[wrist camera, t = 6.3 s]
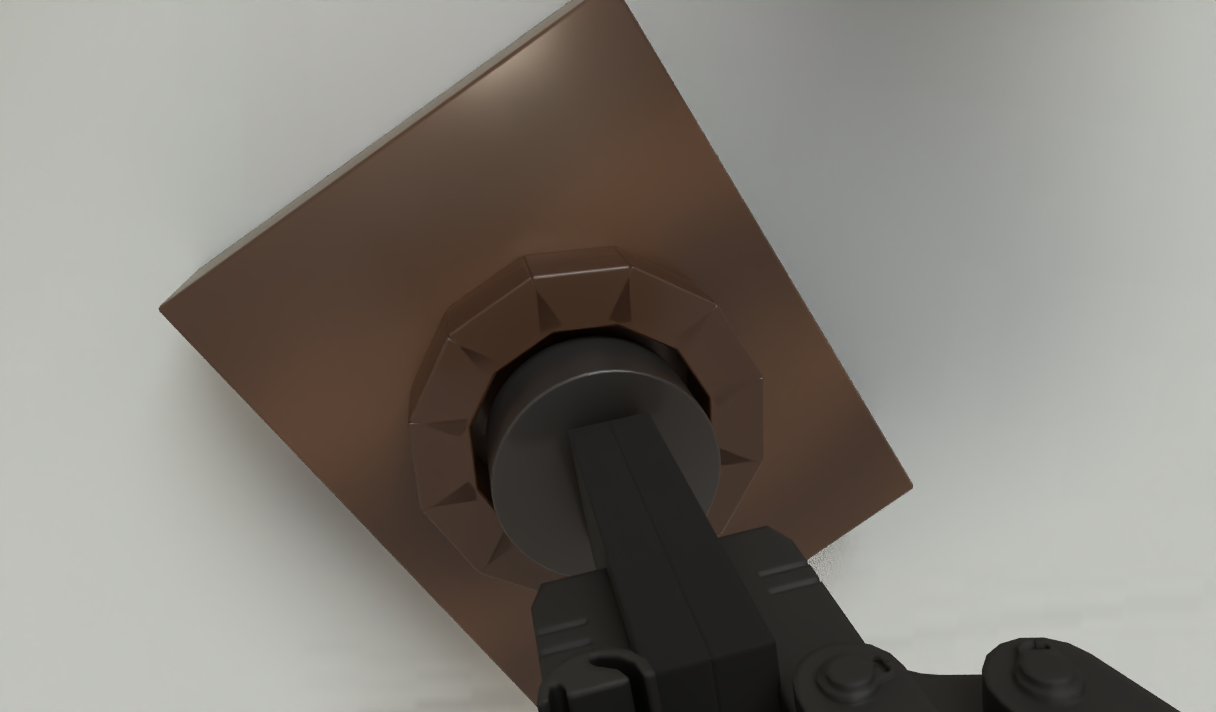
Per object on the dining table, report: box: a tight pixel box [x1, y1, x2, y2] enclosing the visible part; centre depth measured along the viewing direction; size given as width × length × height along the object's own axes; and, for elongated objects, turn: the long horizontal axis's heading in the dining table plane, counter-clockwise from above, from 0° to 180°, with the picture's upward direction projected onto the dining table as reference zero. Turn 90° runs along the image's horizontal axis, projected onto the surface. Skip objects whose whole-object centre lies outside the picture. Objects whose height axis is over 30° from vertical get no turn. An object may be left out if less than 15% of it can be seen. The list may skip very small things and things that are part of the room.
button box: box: [159, 0, 913, 706], centre depth 20 cm, size 14×11×5 cm
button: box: [486, 336, 721, 576], centre depth 17 cm, size 4×4×2 cm
